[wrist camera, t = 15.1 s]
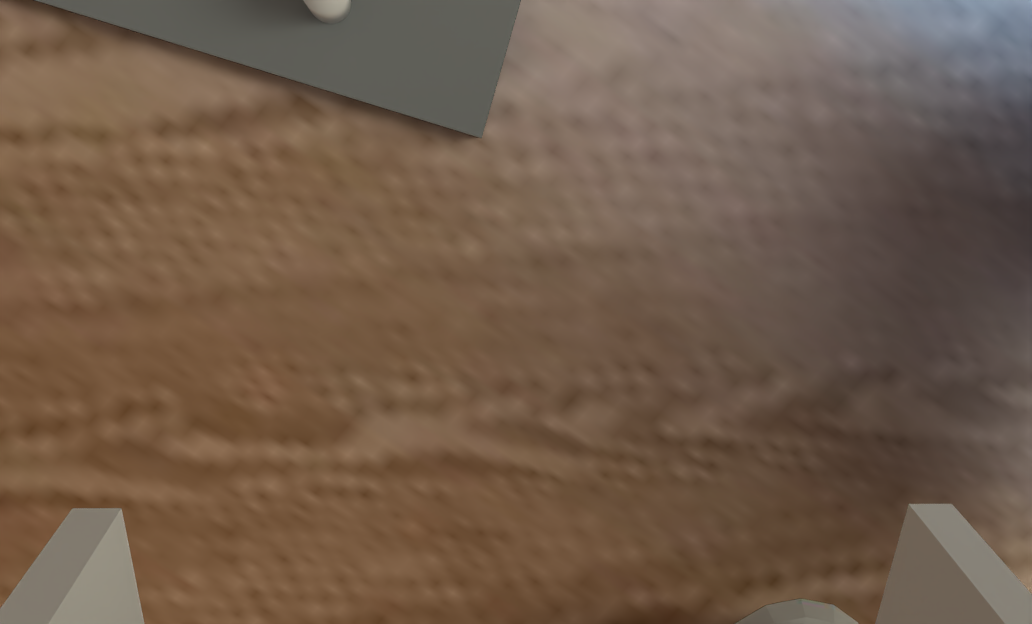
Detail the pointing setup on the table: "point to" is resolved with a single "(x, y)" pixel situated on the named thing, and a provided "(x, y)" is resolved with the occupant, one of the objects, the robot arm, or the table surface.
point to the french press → (798, 614)
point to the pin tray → (345, 46)
